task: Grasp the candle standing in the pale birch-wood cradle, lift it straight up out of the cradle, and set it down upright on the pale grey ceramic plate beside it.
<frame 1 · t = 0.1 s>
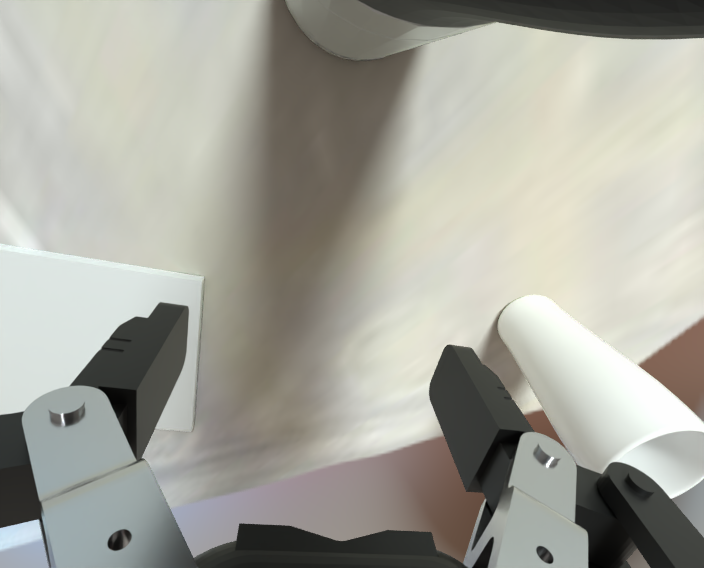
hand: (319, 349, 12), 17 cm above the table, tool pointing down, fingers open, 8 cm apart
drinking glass: (523, 316, 34), on the table
plate: (95, 346, 31), on the table
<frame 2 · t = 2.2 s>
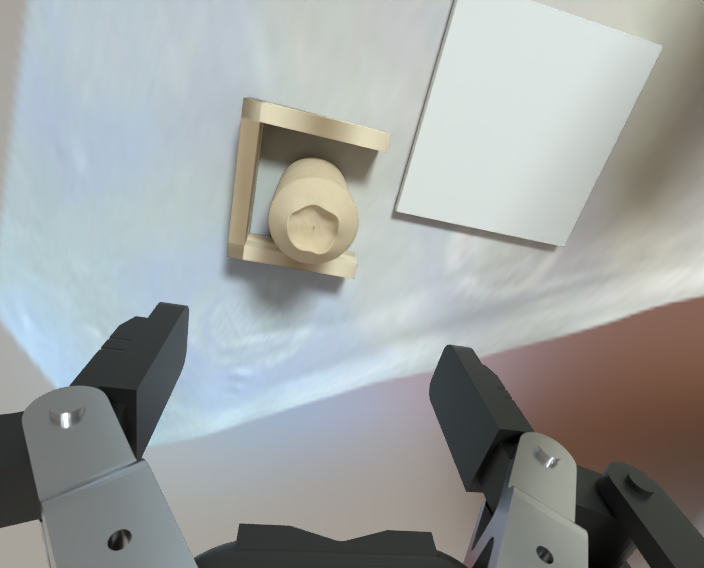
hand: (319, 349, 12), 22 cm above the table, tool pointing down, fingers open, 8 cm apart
candle: (312, 190, 31), on the table
cradle: (312, 191, 31), on the table
plate: (517, 132, 31), on the table
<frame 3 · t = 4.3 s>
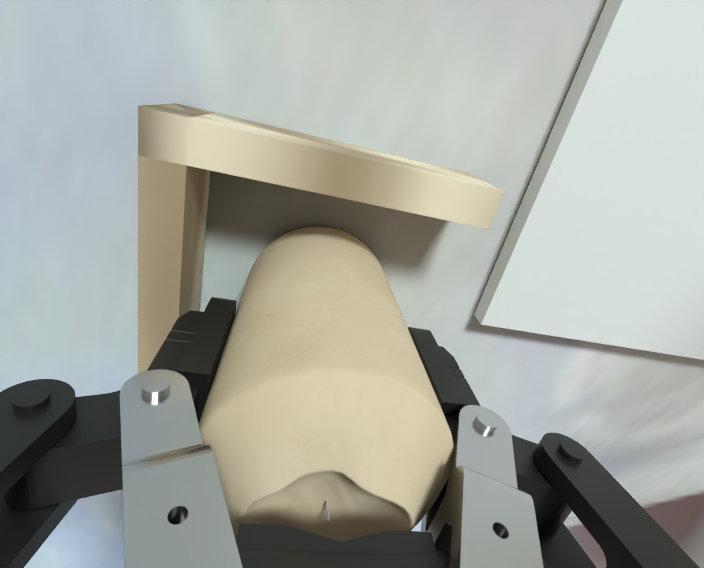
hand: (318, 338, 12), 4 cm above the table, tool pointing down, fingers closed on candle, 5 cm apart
candle: (317, 287, 16), on the table, touching gripper
cradle: (317, 289, 16), on the table
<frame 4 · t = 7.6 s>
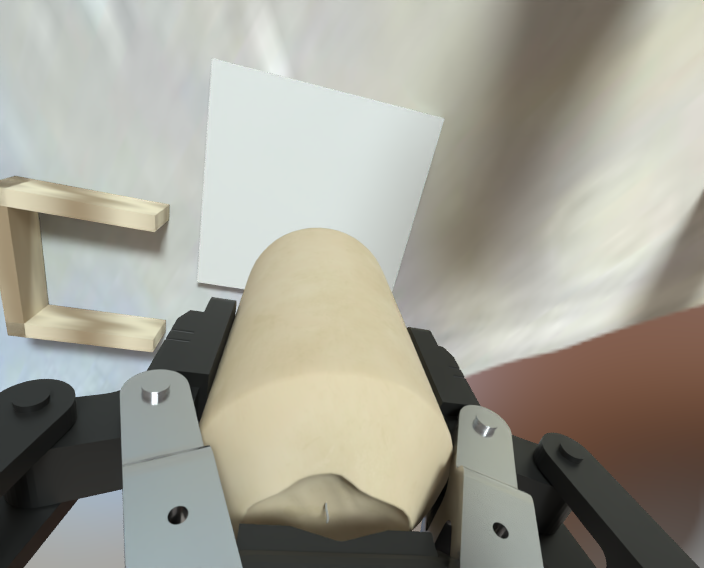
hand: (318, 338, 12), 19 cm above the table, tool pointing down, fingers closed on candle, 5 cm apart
candle: (317, 288, 16), point 15 cm above the table, touching gripper
cradle: (106, 263, 30), on the table
plate: (313, 202, 30), on the table
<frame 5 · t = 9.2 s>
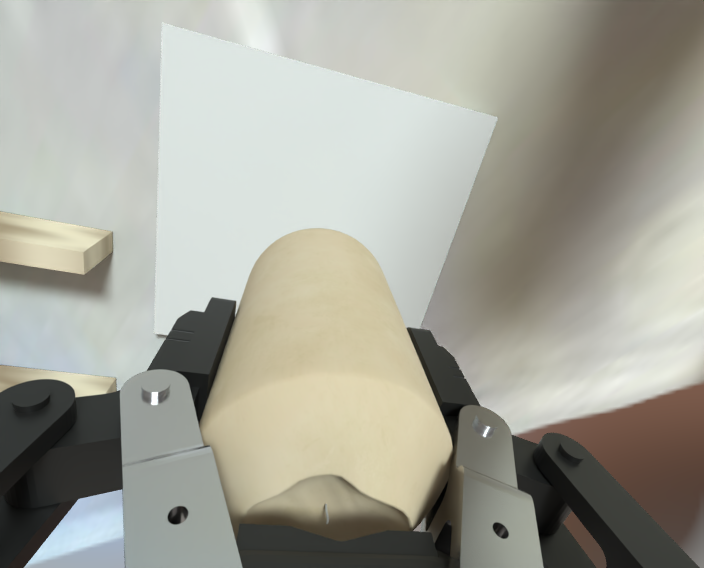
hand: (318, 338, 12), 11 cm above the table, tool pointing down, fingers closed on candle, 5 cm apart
candle: (317, 288, 16), point 7 cm above the table, touching gripper
cradle: (30, 308, 22), on the table
plate: (311, 229, 22), on the table
when the fingers open (6 cm above the table, at t = 10.7 s): candle drops 1 cm, resting on plate.
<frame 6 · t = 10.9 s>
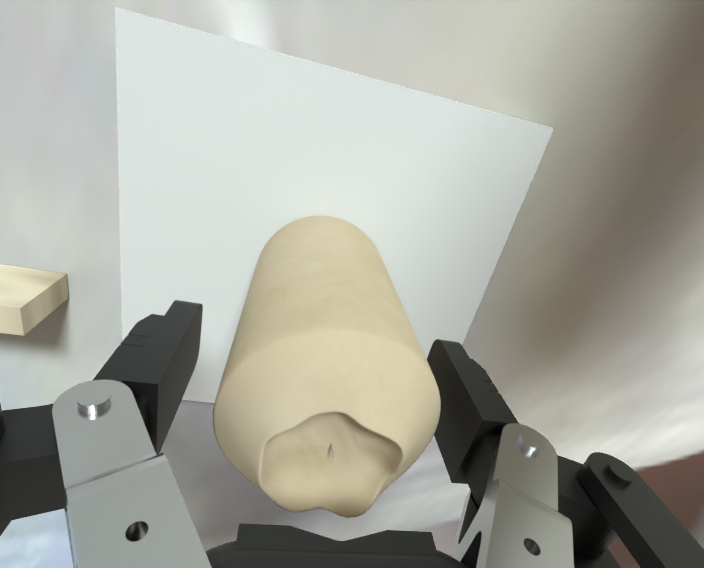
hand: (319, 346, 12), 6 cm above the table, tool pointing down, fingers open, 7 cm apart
candle: (320, 272, 17), point 1 cm above the table, touching plate
plate: (315, 267, 18), on the table
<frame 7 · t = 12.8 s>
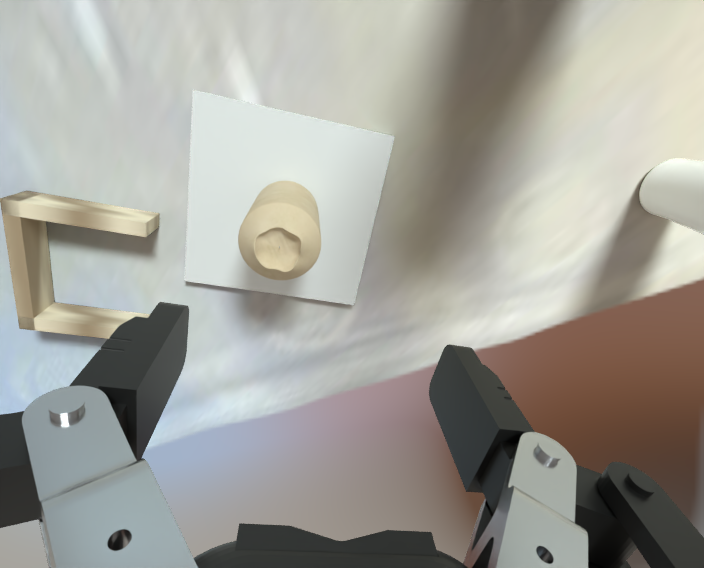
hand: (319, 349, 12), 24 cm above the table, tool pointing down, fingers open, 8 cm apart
candle: (286, 211, 34), point 1 cm above the table, touching plate
cradle: (105, 265, 35), on the table
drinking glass: (660, 185, 37), on the table
plate: (284, 210, 34), on the table
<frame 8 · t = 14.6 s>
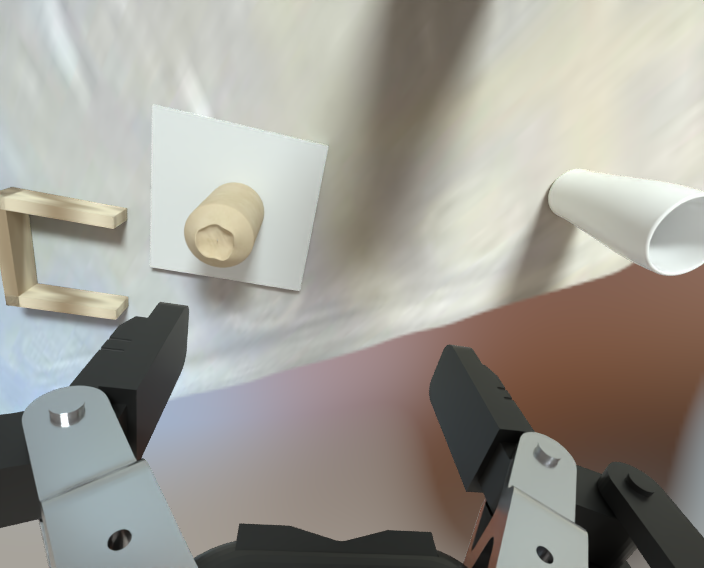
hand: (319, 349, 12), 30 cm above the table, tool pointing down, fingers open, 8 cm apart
candle: (237, 208, 39), point 1 cm above the table, touching plate
cradle: (81, 252, 40), on the table
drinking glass: (567, 191, 43), on the table
plate: (236, 207, 40), on the table
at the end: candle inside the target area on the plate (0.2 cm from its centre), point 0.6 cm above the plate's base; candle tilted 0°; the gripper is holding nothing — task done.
